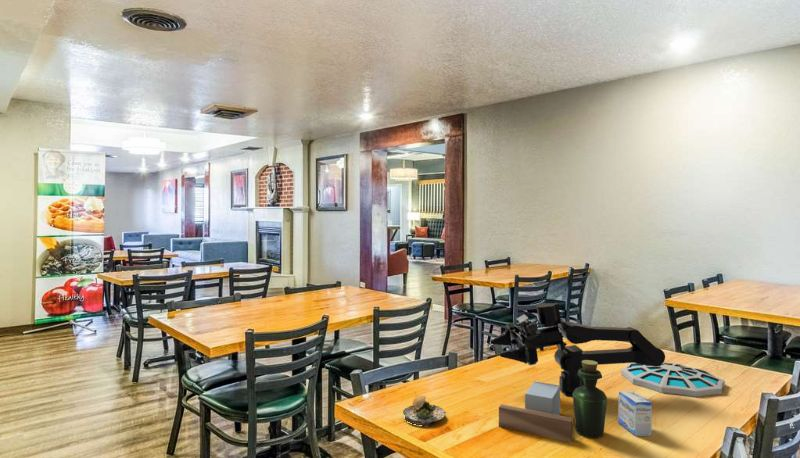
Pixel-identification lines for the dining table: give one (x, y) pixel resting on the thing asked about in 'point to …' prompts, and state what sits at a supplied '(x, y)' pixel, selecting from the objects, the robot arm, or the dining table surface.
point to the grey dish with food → (423, 412)
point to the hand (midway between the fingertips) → (495, 348)
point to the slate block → (543, 398)
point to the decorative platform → (674, 379)
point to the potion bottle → (589, 402)
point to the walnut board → (536, 422)
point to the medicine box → (635, 413)
